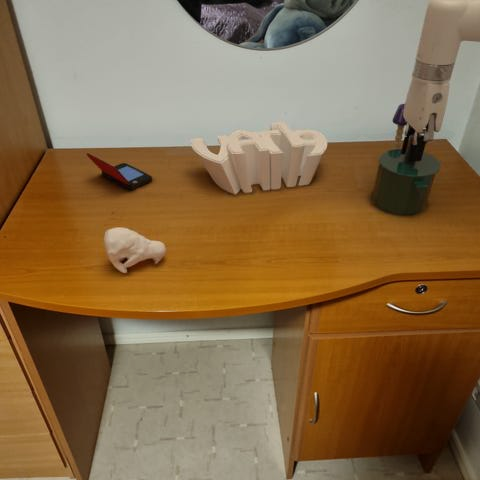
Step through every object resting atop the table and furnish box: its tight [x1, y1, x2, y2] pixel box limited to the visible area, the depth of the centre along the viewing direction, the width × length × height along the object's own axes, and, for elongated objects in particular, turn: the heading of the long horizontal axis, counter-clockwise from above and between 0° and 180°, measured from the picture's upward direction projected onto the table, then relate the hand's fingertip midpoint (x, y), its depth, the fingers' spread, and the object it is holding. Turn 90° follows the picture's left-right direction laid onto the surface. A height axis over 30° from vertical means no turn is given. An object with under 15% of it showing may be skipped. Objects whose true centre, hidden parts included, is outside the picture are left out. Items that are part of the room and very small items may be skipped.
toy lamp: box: [392, 103, 406, 150], centre depth 123 cm, size 5×5×17 cm
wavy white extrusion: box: [190, 121, 328, 195], centre depth 122 cm, size 35×16×10 cm, turn 102°
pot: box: [371, 163, 436, 216], centre depth 114 cm, size 13×18×10 cm
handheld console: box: [86, 152, 153, 191], centre depth 122 cm, size 12×11×7 cm
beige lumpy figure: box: [103, 227, 167, 274], centre depth 96 cm, size 6×8×12 cm
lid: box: [378, 133, 442, 178], centre depth 108 cm, size 14×14×7 cm
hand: (410, 156), depth 109 cm, fingers closed on lid, 2 cm apart
